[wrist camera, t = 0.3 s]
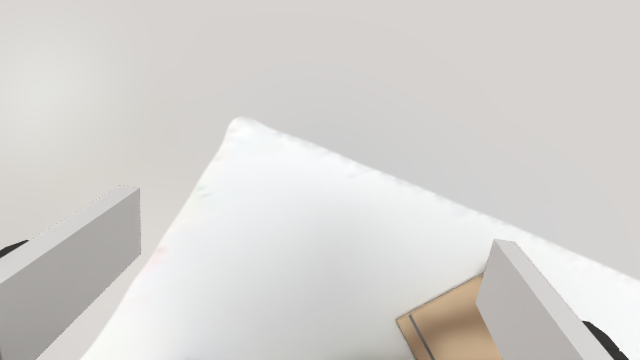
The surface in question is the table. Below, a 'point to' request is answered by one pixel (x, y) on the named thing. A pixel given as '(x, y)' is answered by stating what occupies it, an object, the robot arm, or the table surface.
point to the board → (450, 327)
